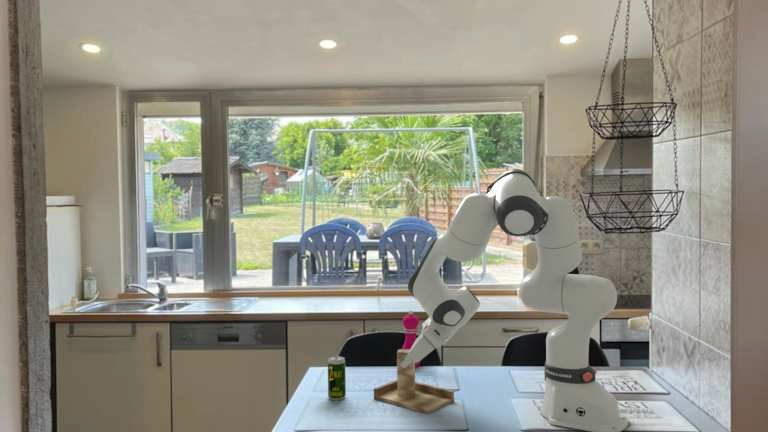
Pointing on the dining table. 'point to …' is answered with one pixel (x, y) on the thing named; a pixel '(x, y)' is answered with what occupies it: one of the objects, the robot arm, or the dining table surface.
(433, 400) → the wooden tray
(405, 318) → the pepper mill
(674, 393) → the dining table surface
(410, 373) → the plank offcut
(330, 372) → the beer can
